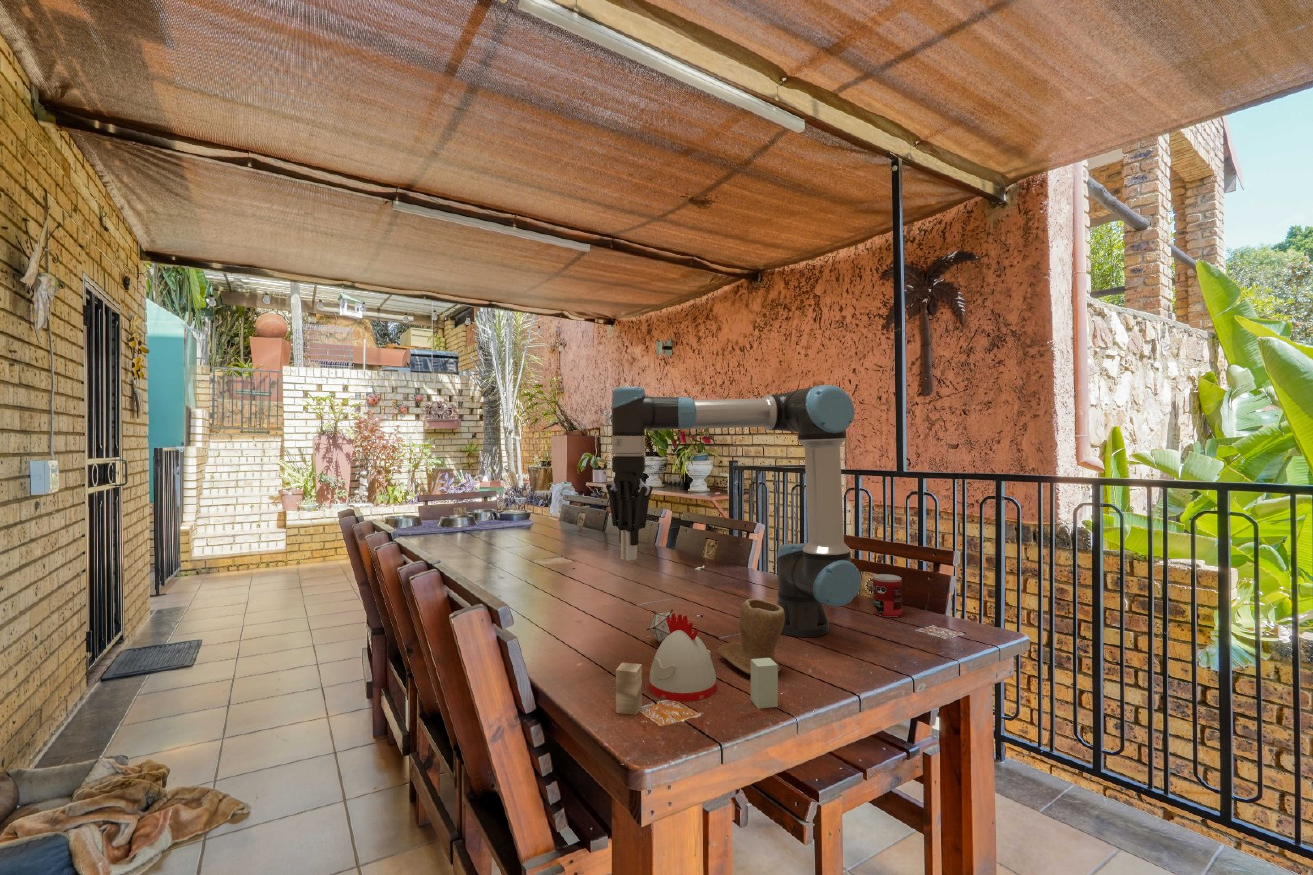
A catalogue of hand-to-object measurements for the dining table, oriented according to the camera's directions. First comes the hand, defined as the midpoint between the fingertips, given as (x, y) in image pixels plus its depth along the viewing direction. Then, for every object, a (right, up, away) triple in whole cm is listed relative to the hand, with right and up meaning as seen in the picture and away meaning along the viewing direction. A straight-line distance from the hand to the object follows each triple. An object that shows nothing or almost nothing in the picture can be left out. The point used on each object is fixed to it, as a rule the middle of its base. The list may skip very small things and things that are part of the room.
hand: (628, 558), depth 136 cm
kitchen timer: (+12, -25, -11) cm, 29 cm away
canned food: (+74, -25, +40) cm, 88 cm away
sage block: (+27, -24, -19) cm, 41 cm away
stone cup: (+28, -25, 0) cm, 38 cm away
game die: (+8, -25, +16) cm, 31 cm away
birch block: (+1, -24, -22) cm, 32 cm away
